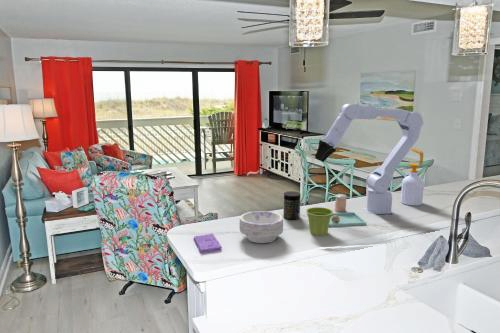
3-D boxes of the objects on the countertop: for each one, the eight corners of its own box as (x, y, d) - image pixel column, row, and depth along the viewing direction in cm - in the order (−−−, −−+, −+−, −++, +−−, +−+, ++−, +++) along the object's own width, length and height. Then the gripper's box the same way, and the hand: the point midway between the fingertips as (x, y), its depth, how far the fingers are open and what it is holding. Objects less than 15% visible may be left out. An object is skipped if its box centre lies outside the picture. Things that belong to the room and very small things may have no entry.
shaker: (343, 210, 165) (344, 193, 164) (347, 213, 161) (348, 197, 159) (333, 210, 165) (333, 194, 163) (336, 214, 160) (337, 197, 159)
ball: (338, 221, 150) (338, 213, 149) (340, 224, 147) (341, 216, 146) (330, 222, 150) (330, 214, 149) (332, 225, 146) (333, 216, 146)
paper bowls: (273, 228, 145) (273, 207, 144) (290, 243, 131) (290, 221, 130) (234, 233, 141) (234, 212, 139) (247, 249, 127) (247, 227, 125)
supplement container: (299, 222, 151) (299, 196, 149) (282, 221, 153) (282, 195, 151) (300, 216, 158) (301, 191, 156) (284, 215, 159) (284, 190, 157)
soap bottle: (403, 198, 181) (407, 146, 176) (424, 202, 176) (429, 148, 170) (398, 203, 174) (402, 149, 169) (419, 207, 169) (424, 151, 163)
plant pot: (300, 231, 142) (301, 208, 140) (322, 227, 146) (323, 205, 144) (314, 240, 133) (315, 217, 132) (337, 236, 137) (338, 213, 135)
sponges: (201, 255, 124) (200, 249, 124) (193, 240, 136) (193, 235, 135) (222, 251, 126) (222, 246, 126) (213, 237, 138) (212, 232, 138)
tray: (354, 215, 158) (354, 212, 158) (366, 226, 147) (366, 222, 146) (315, 217, 156) (316, 213, 156) (325, 228, 145) (325, 224, 144)
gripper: (331, 129, 163) (314, 156, 164) (325, 122, 149) (306, 153, 151) (346, 137, 160) (328, 165, 162) (341, 131, 147) (321, 162, 149)
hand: (318, 160), depth 156 cm, fingers open, 7 cm apart
